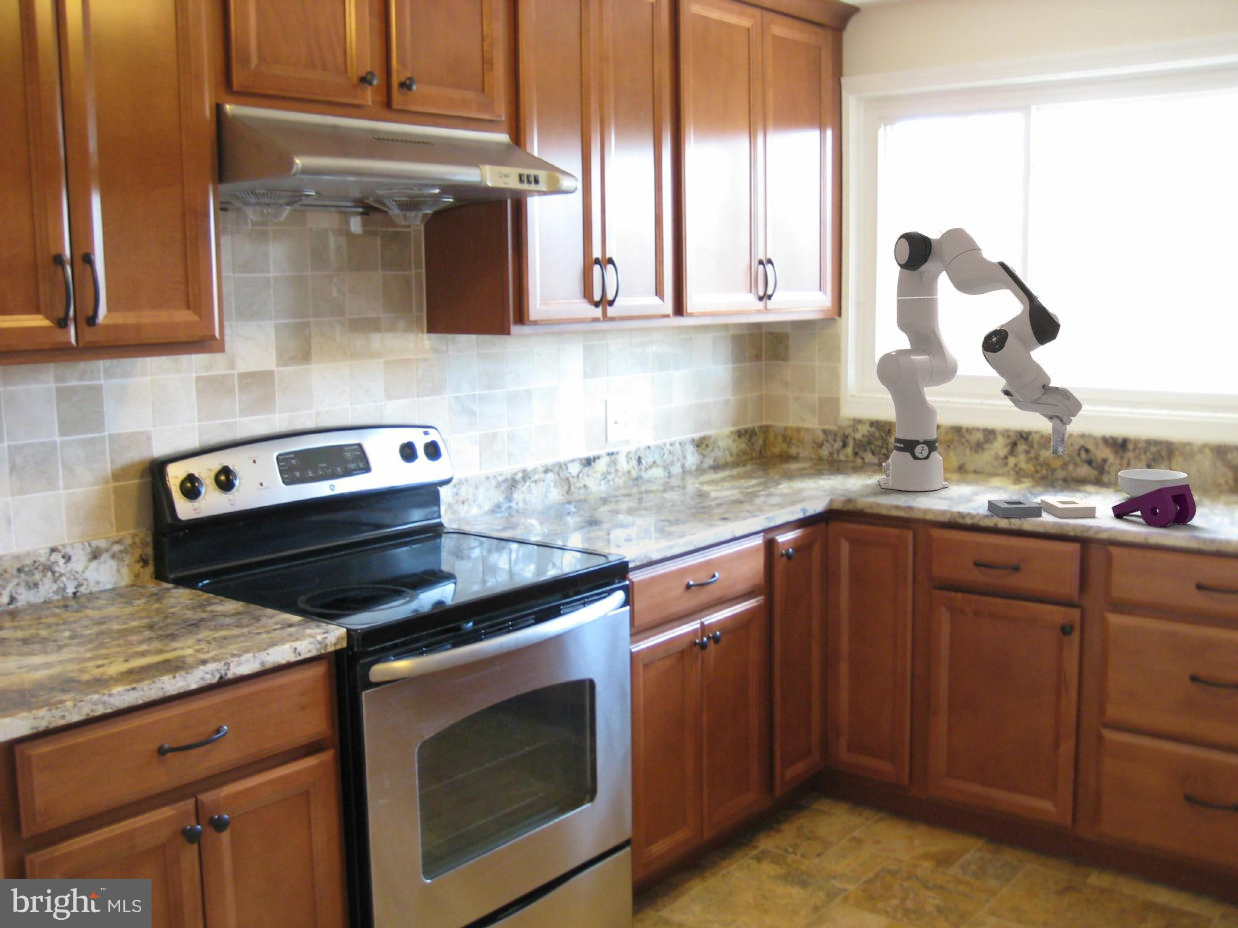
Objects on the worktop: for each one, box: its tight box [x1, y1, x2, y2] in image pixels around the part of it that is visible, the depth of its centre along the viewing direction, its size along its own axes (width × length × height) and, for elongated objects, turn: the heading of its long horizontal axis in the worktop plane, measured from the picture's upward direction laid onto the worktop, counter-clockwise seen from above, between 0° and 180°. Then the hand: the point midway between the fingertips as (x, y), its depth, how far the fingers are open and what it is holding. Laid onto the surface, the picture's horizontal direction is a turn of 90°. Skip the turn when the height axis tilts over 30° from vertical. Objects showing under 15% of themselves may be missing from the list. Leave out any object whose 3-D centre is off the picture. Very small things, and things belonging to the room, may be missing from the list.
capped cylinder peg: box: [1050, 415, 1068, 456], centre depth 297 cm, size 3×3×15 cm
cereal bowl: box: [1117, 468, 1189, 498], centre depth 315 cm, size 17×17×7 cm
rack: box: [1039, 497, 1097, 519], centre depth 300 cm, size 12×9×2 cm
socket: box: [987, 498, 1043, 518], centre depth 301 cm, size 10×10×2 cm
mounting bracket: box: [1111, 483, 1197, 528], centre depth 289 cm, size 9×8×18 cm
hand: (1061, 421), depth 297 cm, fingers closed on capped cylinder peg, 3 cm apart
